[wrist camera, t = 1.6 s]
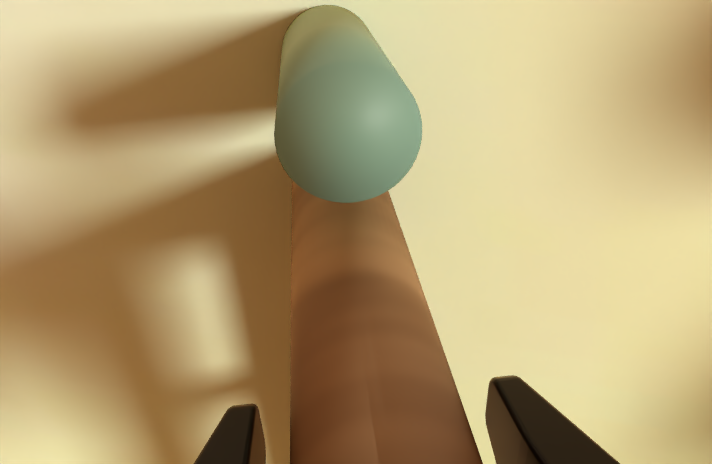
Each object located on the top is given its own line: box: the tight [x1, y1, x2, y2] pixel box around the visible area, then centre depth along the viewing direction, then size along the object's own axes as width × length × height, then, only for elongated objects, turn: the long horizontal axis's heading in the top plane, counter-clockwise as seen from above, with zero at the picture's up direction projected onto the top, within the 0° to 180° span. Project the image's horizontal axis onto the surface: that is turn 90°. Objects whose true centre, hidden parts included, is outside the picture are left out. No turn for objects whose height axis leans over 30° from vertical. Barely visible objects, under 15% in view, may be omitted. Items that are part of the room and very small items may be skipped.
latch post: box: [274, 5, 422, 203], centre depth 11 cm, size 2×2×6 cm
